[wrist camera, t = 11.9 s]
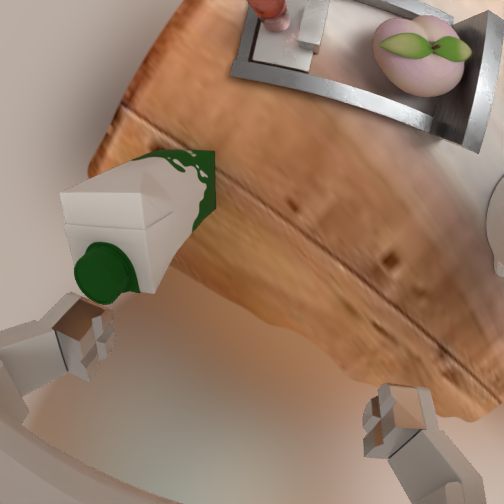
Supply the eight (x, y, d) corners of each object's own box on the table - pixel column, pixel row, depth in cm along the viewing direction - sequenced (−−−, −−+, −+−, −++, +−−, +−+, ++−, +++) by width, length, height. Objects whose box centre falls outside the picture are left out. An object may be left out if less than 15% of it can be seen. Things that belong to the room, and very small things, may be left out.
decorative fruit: (379, 103, 29) (405, 105, 20) (355, 34, 26) (371, 10, 17) (452, 90, 26) (496, 92, 18) (430, 23, 23) (468, 3, 14)
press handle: (331, -3, 24) (338, -47, 14) (313, 74, 29) (314, 59, 19) (273, -15, 25) (255, -60, 14) (255, 61, 29) (228, 43, 19)
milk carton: (158, 212, 40) (61, 299, 22) (153, 143, 36) (33, 192, 18) (223, 216, 38) (152, 319, 21) (222, 142, 34) (131, 192, 17)
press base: (466, 33, 22) (505, 20, 15) (442, 139, 29) (478, 153, 21) (262, -31, 24) (246, -66, 16) (236, 77, 31) (211, 70, 23)
